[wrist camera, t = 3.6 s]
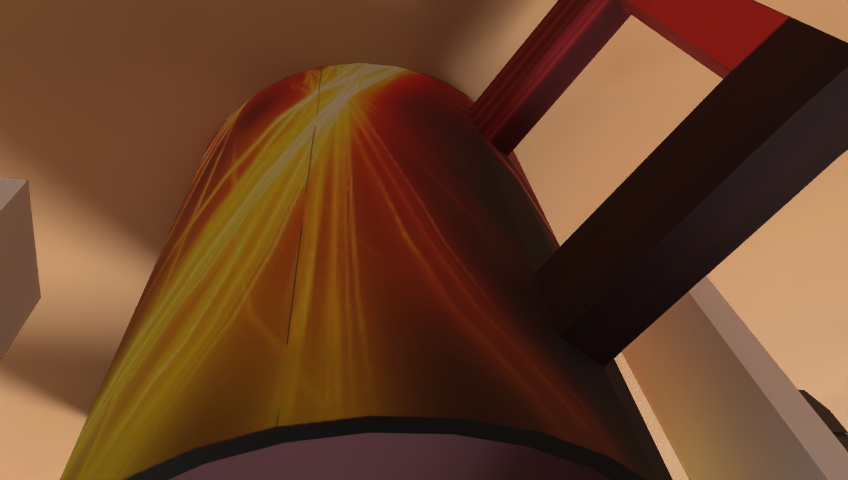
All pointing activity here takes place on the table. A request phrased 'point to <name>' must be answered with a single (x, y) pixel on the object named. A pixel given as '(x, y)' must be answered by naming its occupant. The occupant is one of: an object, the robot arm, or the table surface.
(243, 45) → the table surface
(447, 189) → the mug
